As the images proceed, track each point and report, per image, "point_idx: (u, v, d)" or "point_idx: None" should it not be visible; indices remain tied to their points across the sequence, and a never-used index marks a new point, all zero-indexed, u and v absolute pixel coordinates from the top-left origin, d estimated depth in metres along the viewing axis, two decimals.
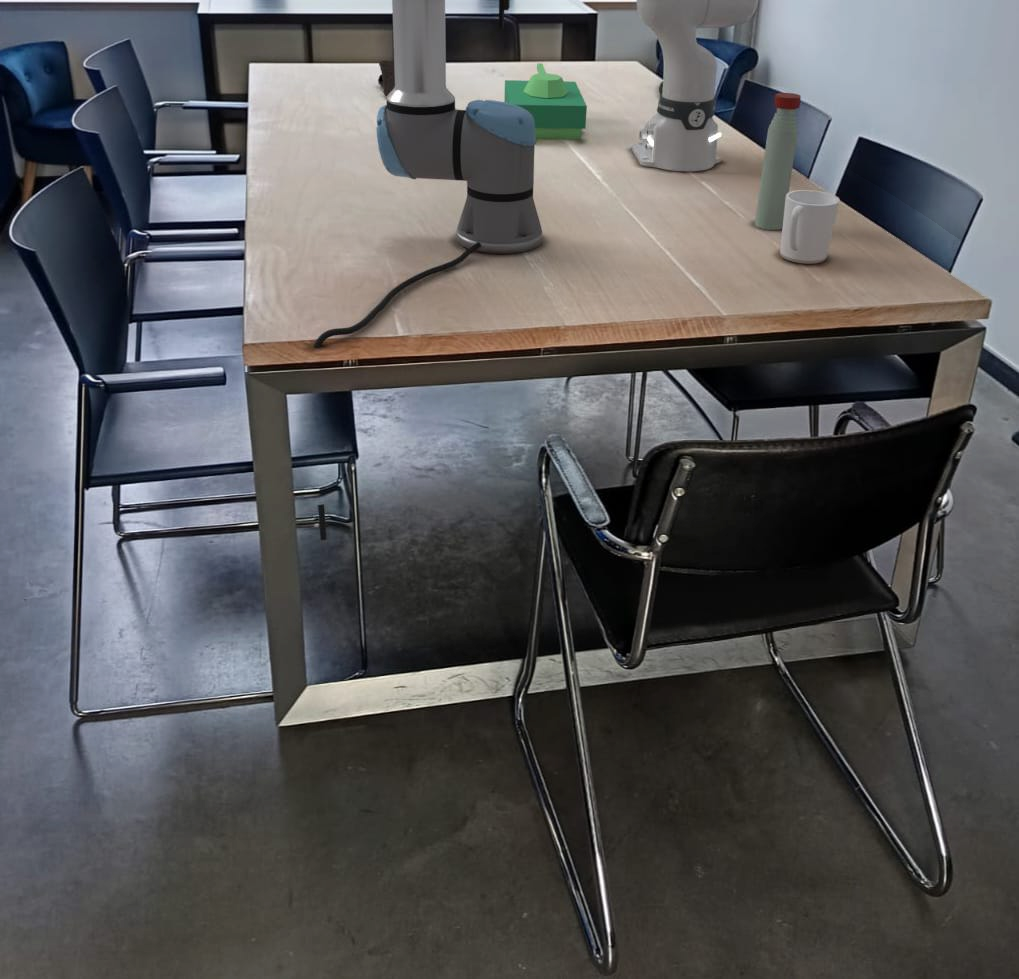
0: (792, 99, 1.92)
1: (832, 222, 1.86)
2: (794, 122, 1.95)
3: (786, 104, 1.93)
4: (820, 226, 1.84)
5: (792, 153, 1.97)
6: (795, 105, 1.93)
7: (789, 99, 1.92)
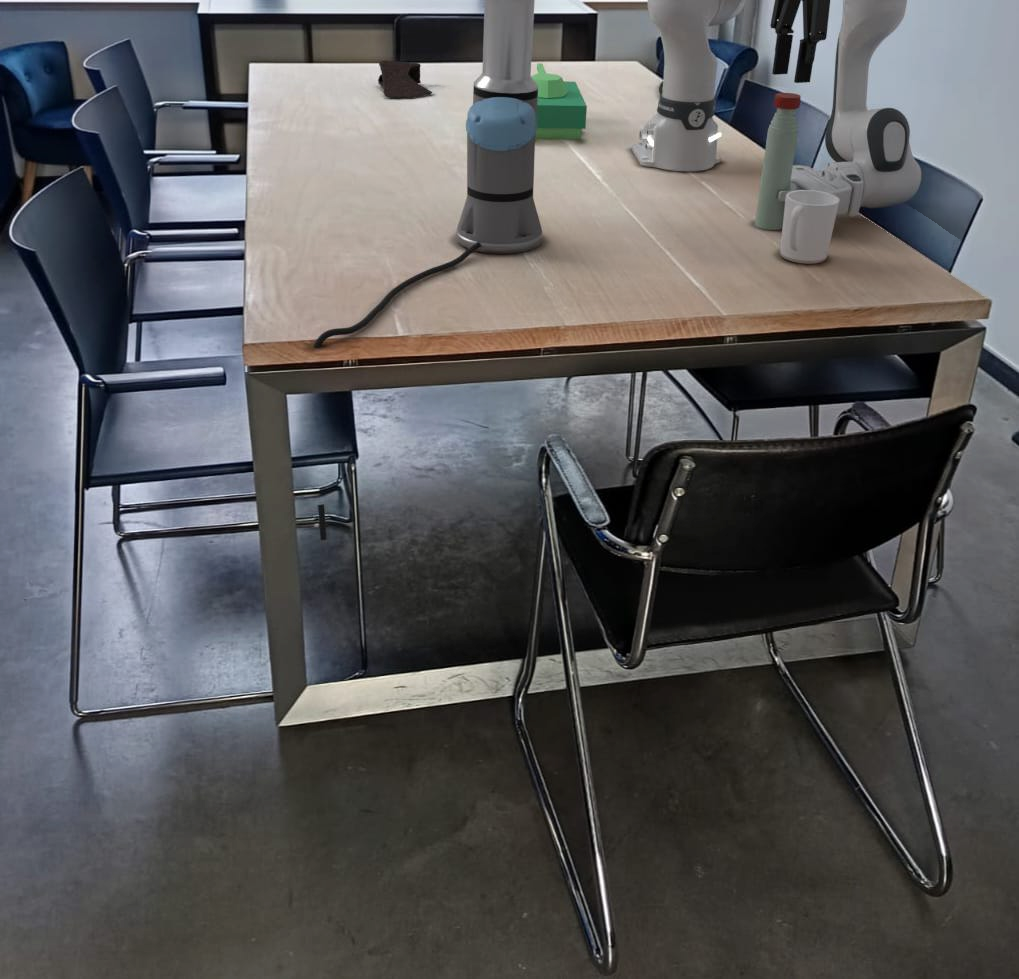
0: (792, 99, 1.92)
1: (832, 222, 1.86)
2: (794, 122, 1.95)
3: (786, 104, 1.93)
4: (820, 226, 1.84)
5: (792, 153, 1.97)
6: (795, 105, 1.93)
7: (789, 99, 1.92)
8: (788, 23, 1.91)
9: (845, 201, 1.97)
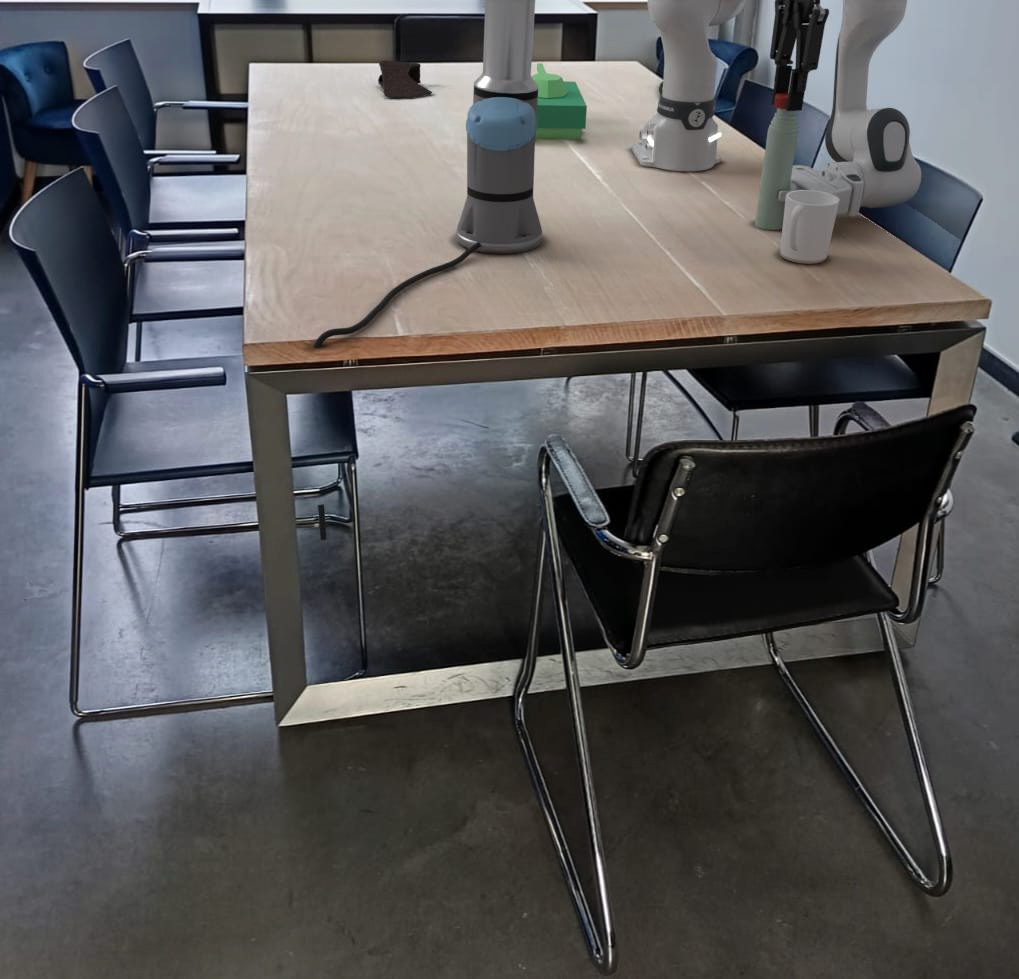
0: None
1: (832, 222, 1.86)
2: (794, 122, 1.95)
3: (786, 104, 1.93)
4: (820, 226, 1.84)
5: (792, 153, 1.97)
6: None
7: None
8: (787, 53, 1.93)
9: (845, 201, 1.97)
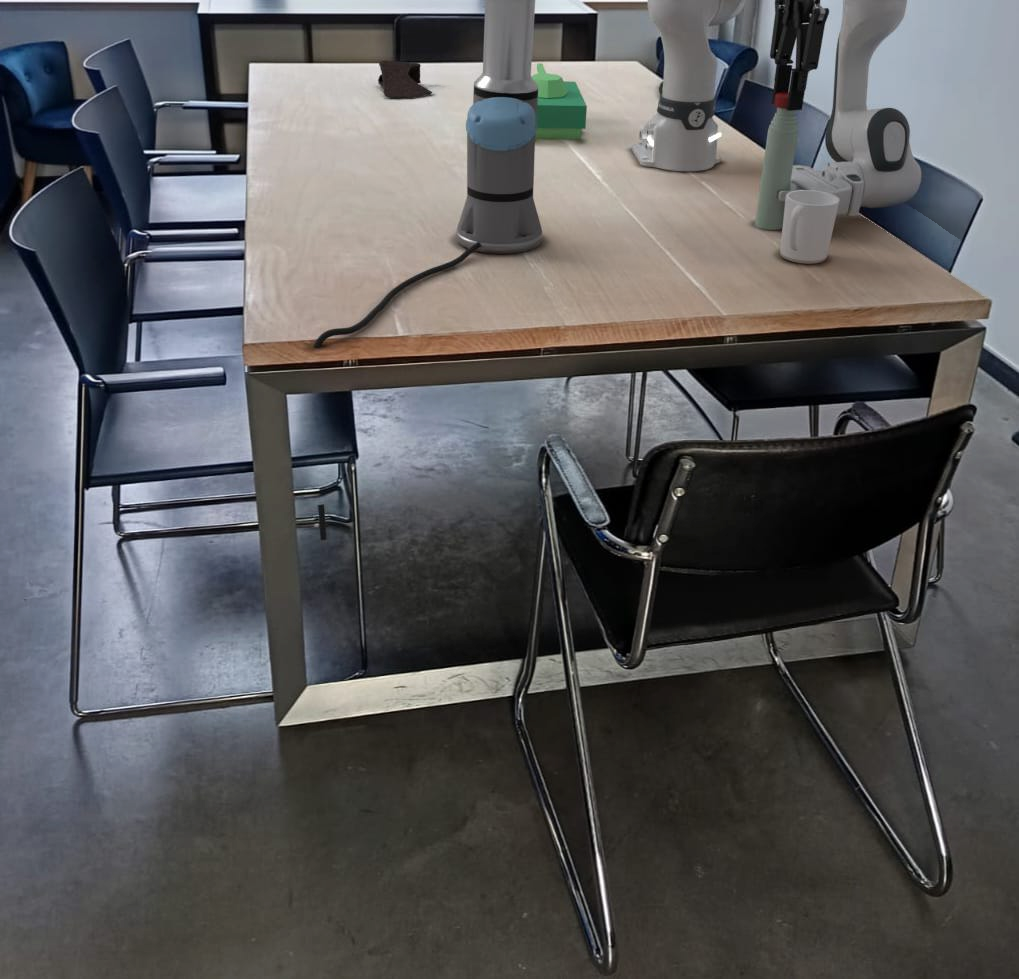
0: None
1: (832, 222, 1.86)
2: (794, 122, 1.95)
3: None
4: (820, 226, 1.84)
5: (792, 153, 1.97)
6: None
7: None
8: (787, 53, 1.93)
9: (845, 201, 1.97)
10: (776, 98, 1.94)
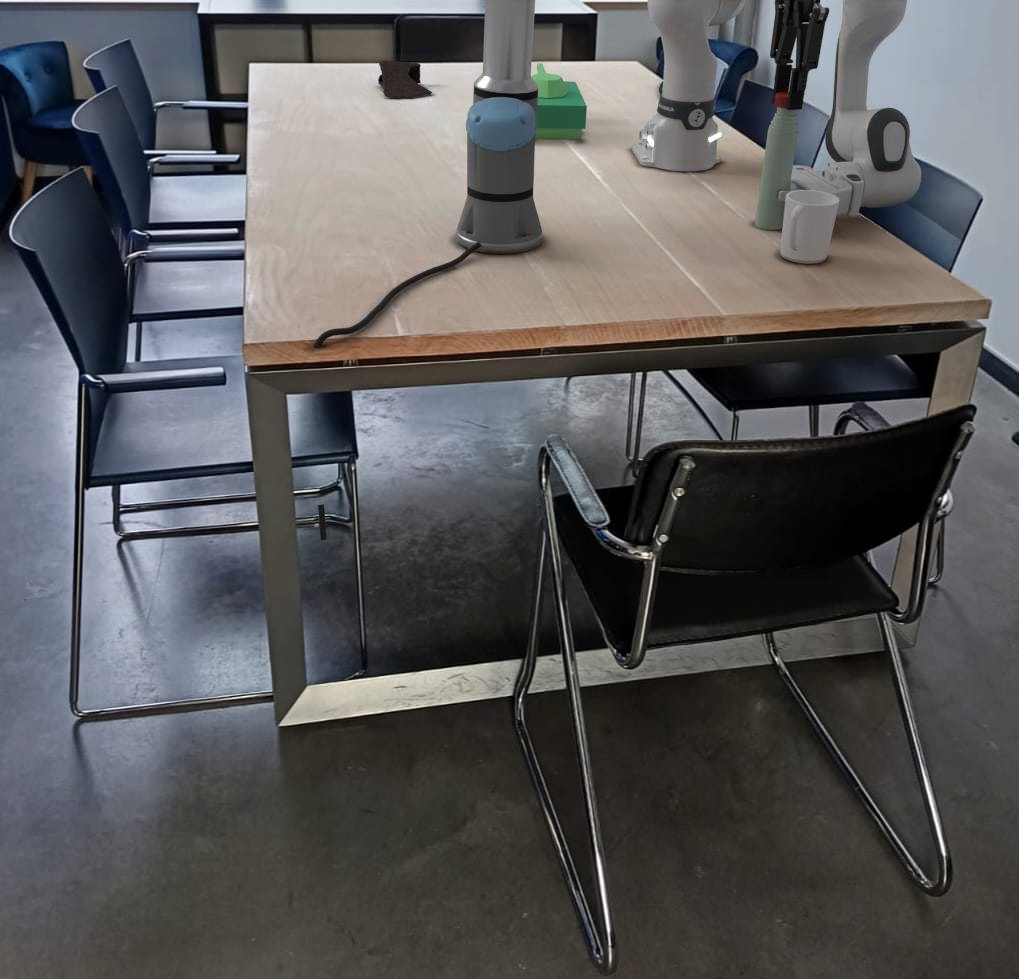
0: None
1: (832, 222, 1.86)
2: (794, 122, 1.95)
3: None
4: (820, 226, 1.84)
5: (792, 153, 1.97)
6: None
7: None
8: (787, 52, 1.93)
9: (845, 201, 1.97)
10: None
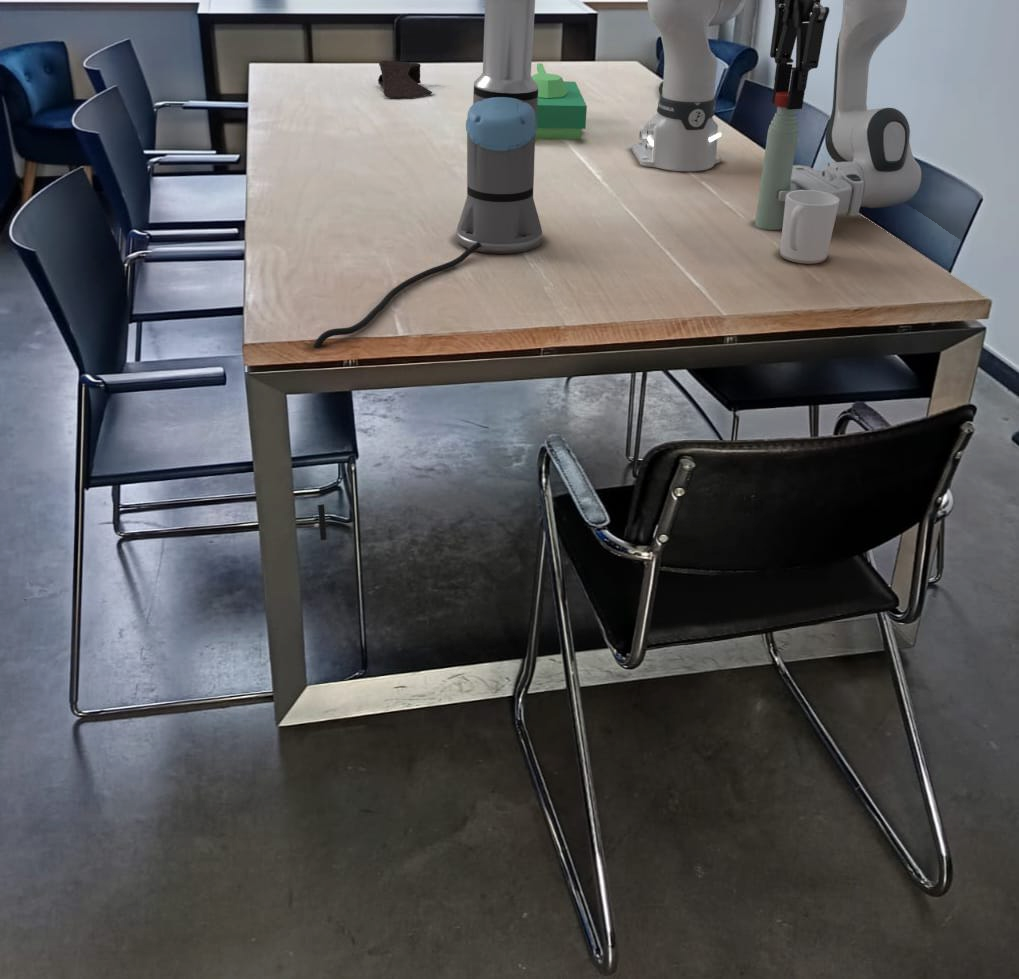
0: (776, 94, 1.95)
1: (832, 222, 1.86)
2: (794, 122, 1.95)
3: None
4: (820, 226, 1.84)
5: (792, 153, 1.97)
6: (775, 101, 1.94)
7: None
8: (787, 52, 1.92)
9: (845, 201, 1.97)
10: None
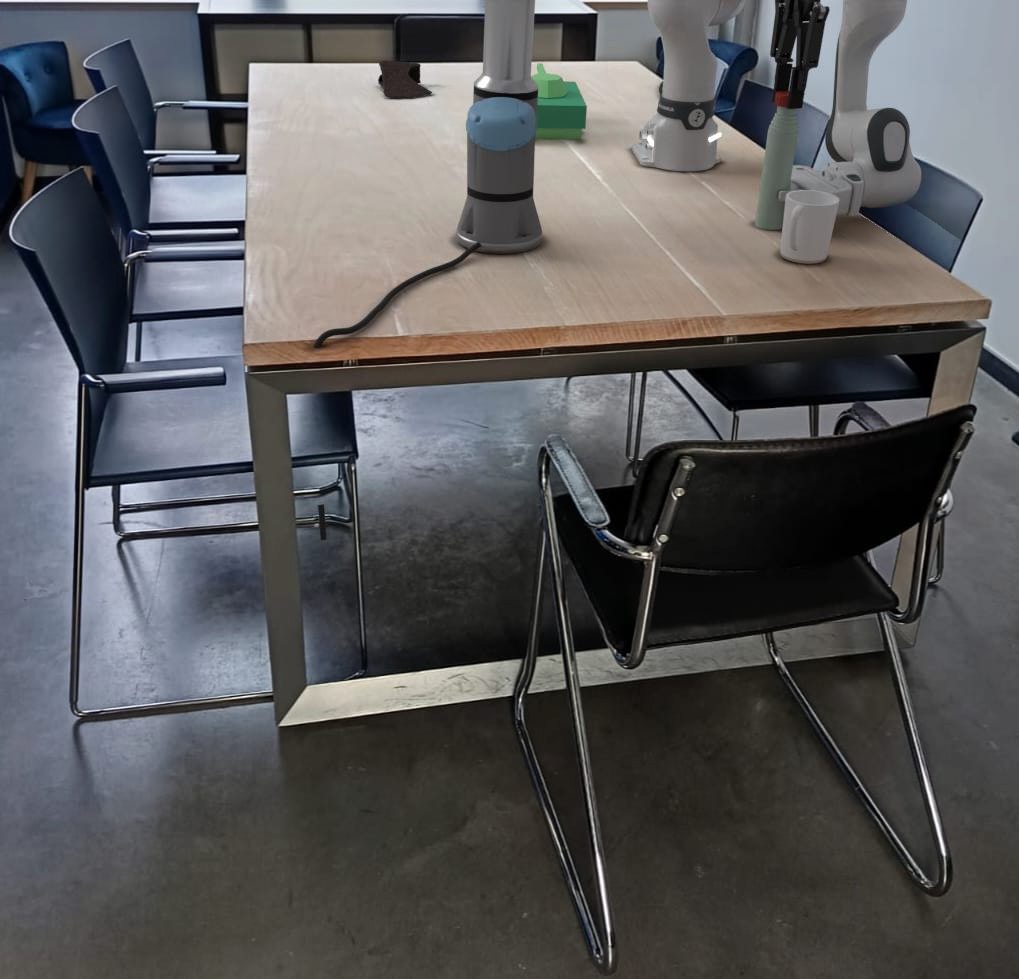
0: (783, 96, 1.92)
1: (832, 222, 1.86)
2: (794, 122, 1.95)
3: (778, 101, 1.93)
4: (820, 226, 1.84)
5: (792, 153, 1.97)
6: None
7: (781, 96, 1.93)
8: (787, 51, 1.92)
9: (845, 201, 1.97)
10: None
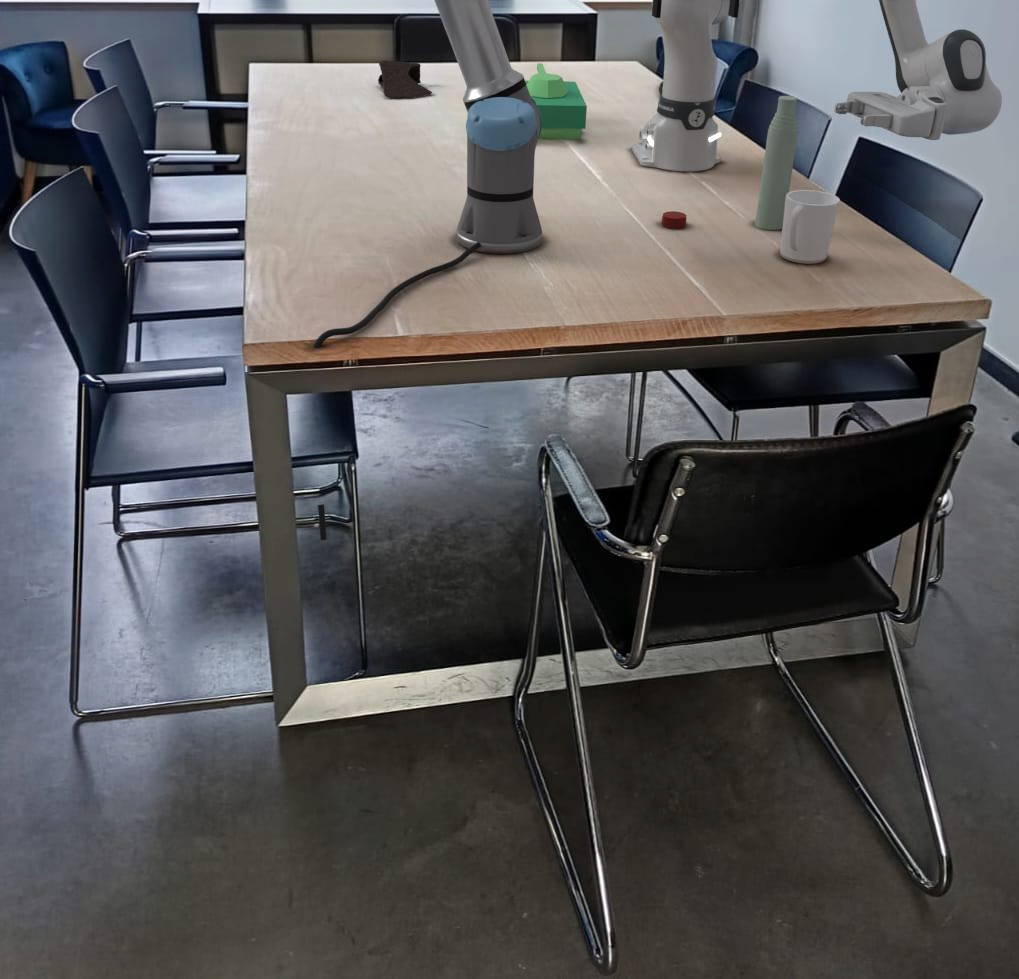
0: None
1: (832, 222, 1.86)
2: (794, 122, 1.95)
3: None
4: (820, 226, 1.84)
5: (792, 153, 1.97)
6: None
7: None
8: None
9: (928, 123, 1.93)
10: (668, 220, 2.03)
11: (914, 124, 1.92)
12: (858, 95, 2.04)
